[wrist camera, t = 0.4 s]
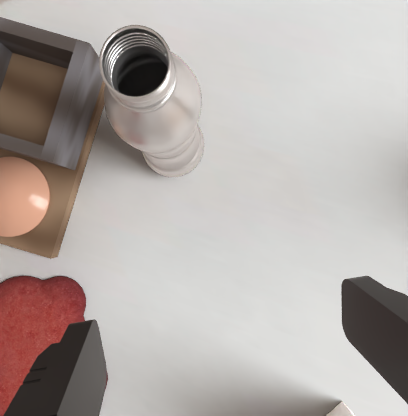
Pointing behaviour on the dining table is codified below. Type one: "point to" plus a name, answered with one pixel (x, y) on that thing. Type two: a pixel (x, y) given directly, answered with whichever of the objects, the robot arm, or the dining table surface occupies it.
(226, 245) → the dining table surface
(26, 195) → the terracotta coaster
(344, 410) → the milk
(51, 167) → the wooden organizer tray
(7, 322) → the red flat piece
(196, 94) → the plastic bottle
